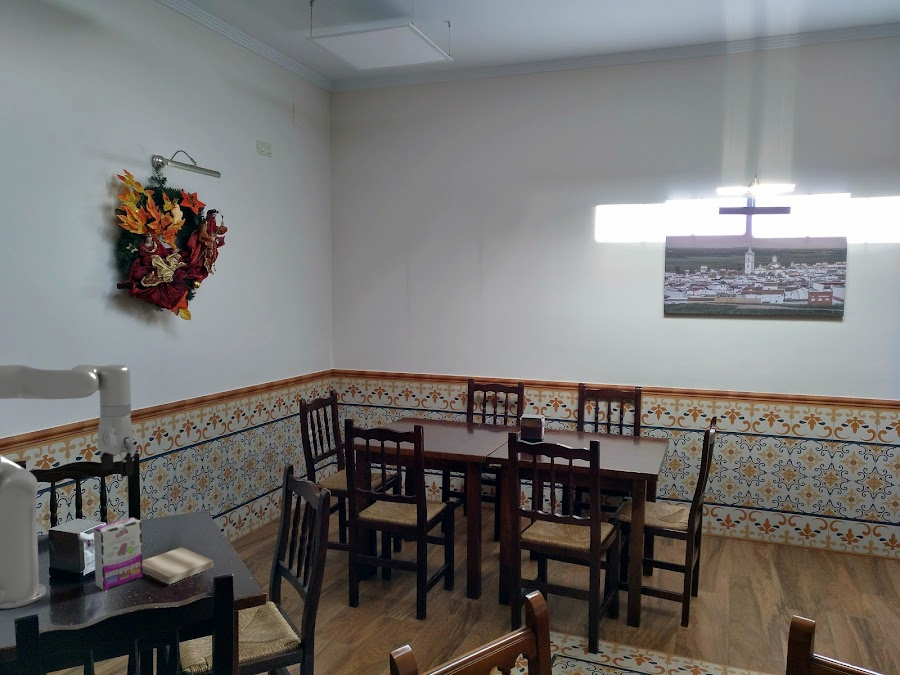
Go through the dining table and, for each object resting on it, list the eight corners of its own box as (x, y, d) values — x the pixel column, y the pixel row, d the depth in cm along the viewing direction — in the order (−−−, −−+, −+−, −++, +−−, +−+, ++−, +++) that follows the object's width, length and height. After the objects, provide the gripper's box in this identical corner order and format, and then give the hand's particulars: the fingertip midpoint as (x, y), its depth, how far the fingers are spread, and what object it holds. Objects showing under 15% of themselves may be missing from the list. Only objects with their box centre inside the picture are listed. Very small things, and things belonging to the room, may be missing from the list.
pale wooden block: (169, 587, 186) (169, 577, 185) (137, 572, 195) (137, 562, 195) (213, 570, 197) (213, 560, 197) (181, 556, 206) (181, 547, 206)
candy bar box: (134, 572, 193) (133, 516, 192) (143, 577, 190) (142, 520, 189) (94, 586, 185) (92, 527, 183) (103, 591, 182) (101, 531, 180)
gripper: (85, 409, 186) (86, 470, 187) (119, 416, 176) (121, 481, 178) (111, 405, 192) (113, 464, 194) (146, 412, 182) (148, 475, 184)
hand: (117, 472), depth 186 cm, fingers open, 9 cm apart
